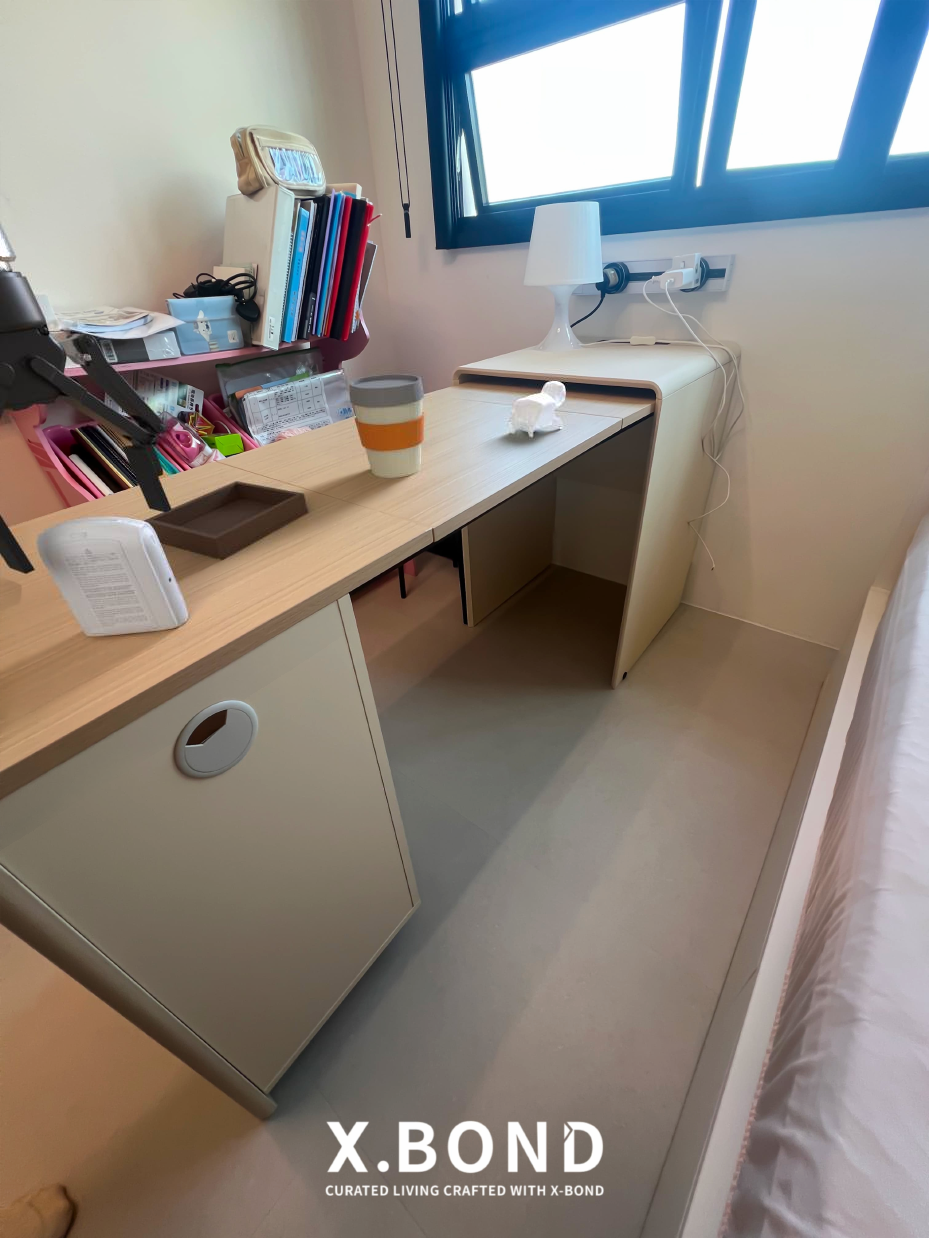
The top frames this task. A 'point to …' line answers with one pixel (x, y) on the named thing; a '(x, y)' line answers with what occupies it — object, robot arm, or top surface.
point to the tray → (228, 518)
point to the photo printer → (113, 575)
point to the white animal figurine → (538, 409)
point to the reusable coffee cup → (390, 422)
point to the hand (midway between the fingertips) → (98, 536)
